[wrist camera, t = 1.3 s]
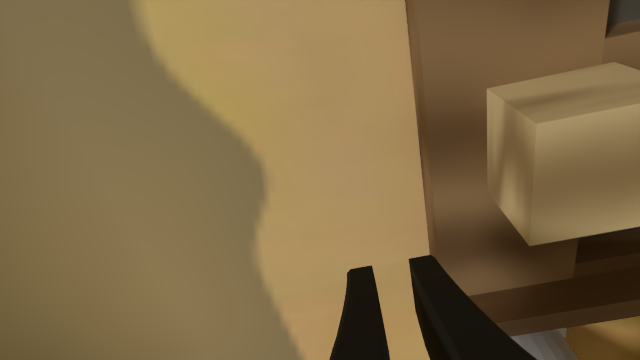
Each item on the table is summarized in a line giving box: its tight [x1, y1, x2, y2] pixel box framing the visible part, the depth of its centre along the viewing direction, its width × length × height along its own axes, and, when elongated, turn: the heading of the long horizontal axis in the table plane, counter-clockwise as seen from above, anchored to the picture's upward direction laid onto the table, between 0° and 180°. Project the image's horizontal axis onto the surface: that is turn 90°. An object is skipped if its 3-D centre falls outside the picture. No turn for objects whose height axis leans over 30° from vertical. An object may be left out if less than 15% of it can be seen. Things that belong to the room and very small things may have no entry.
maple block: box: [487, 62, 640, 246], centre depth 15 cm, size 5×5×4 cm
